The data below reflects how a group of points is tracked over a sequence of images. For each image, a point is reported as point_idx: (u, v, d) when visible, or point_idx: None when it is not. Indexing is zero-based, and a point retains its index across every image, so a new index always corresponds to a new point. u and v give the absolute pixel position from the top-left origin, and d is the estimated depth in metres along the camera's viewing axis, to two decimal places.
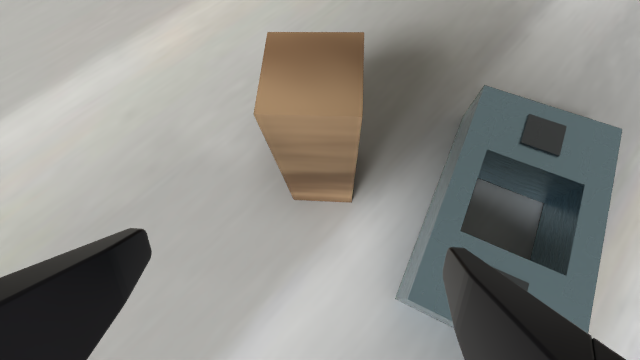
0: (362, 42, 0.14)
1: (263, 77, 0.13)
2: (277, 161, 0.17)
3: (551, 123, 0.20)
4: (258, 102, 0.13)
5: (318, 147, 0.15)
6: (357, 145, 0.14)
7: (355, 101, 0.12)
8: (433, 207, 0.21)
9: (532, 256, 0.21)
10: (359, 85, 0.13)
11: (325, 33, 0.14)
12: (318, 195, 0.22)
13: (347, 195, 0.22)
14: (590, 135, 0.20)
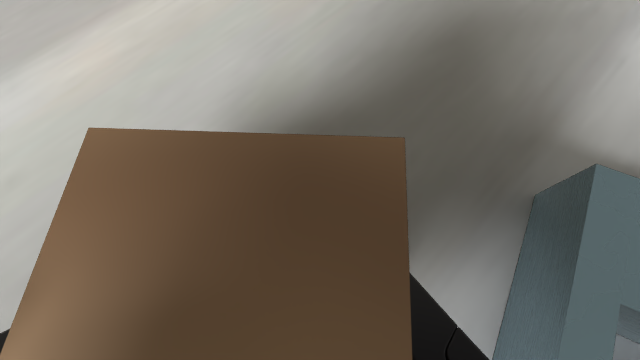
0: (401, 179, 0.04)
1: (24, 327, 0.03)
2: None
3: None
4: None
5: None
6: None
7: None
8: None
9: None
10: None
11: (274, 137, 0.04)
12: None
13: None
14: None
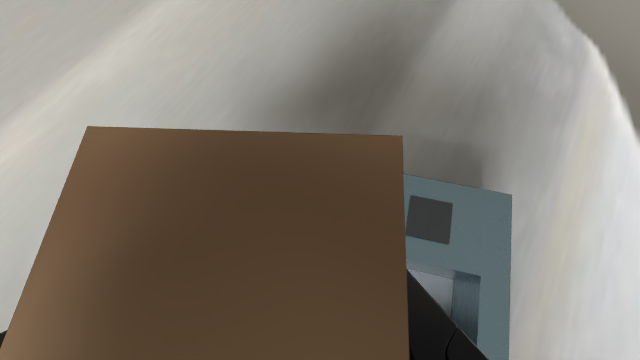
0: (398, 177, 0.04)
1: (23, 325, 0.03)
2: None
3: (436, 202, 0.18)
4: None
5: None
6: None
7: None
8: None
9: None
10: None
11: (271, 135, 0.04)
12: None
13: None
14: (479, 209, 0.17)
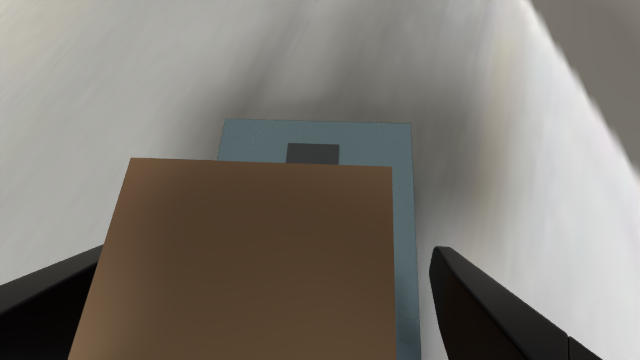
0: (388, 201, 0.05)
1: (90, 322, 0.04)
2: None
3: (319, 147, 0.14)
4: None
5: None
6: None
7: None
8: None
9: None
10: None
11: (284, 166, 0.05)
12: None
13: None
14: (373, 147, 0.14)
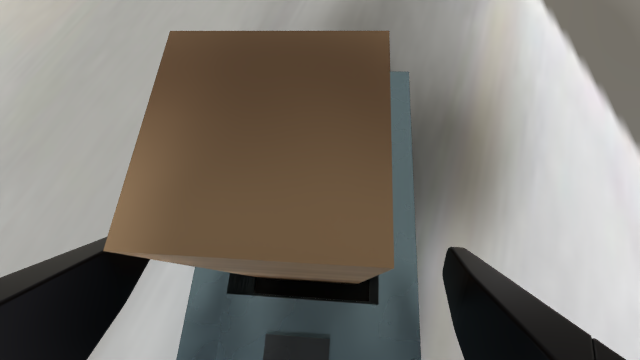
0: (386, 55, 0.06)
1: (144, 143, 0.05)
2: (220, 270, 0.09)
3: None
4: (120, 215, 0.05)
5: (289, 271, 0.07)
6: (372, 276, 0.07)
7: (373, 216, 0.05)
8: None
9: None
10: (381, 169, 0.05)
11: (299, 33, 0.06)
12: None
13: (349, 283, 0.14)
14: None
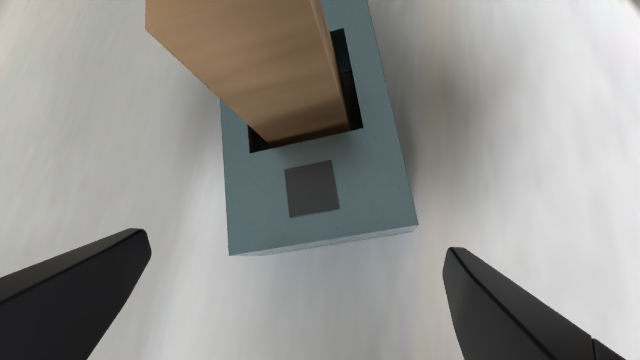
0: None
1: None
2: (233, 108, 0.13)
3: None
4: (149, 11, 0.08)
5: (270, 66, 0.10)
6: (321, 45, 0.10)
7: None
8: None
9: None
10: None
11: None
12: None
13: None
14: None
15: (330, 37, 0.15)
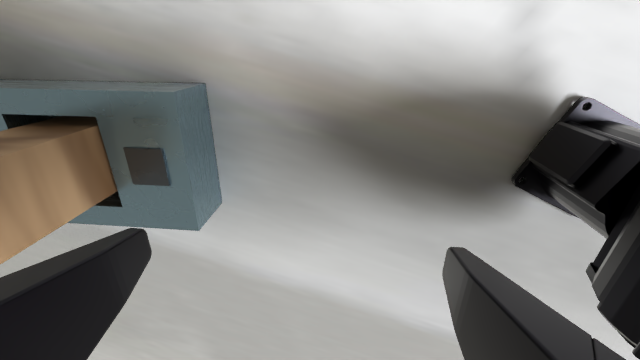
0: None
1: None
2: (66, 221, 0.17)
3: None
4: None
5: (12, 199, 0.14)
6: None
7: None
8: None
9: None
10: None
11: None
12: None
13: None
14: None
15: (9, 130, 0.17)
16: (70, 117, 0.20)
